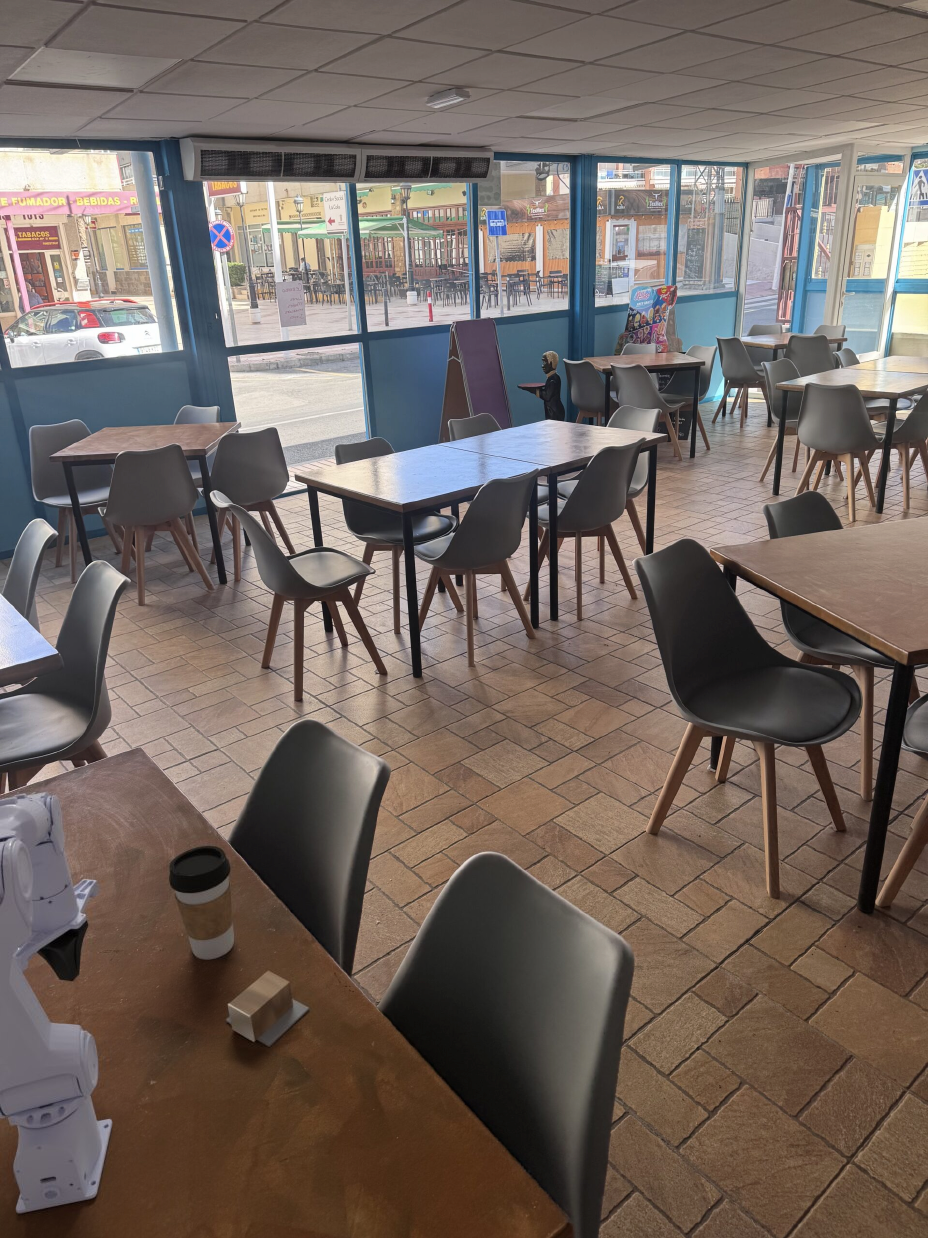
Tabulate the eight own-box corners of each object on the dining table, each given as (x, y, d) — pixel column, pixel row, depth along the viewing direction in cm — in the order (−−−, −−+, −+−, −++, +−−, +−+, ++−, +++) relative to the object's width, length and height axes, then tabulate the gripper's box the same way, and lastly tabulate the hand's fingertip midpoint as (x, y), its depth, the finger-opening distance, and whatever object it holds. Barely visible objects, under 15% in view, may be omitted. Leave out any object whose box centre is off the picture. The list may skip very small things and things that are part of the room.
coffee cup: (171, 956, 127) (152, 868, 122) (212, 920, 134) (196, 836, 128) (214, 973, 123) (197, 883, 118) (254, 935, 130) (240, 849, 125)
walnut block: (249, 1017, 109) (289, 982, 114) (227, 1004, 111) (268, 970, 116) (253, 1042, 110) (293, 1006, 116) (232, 1029, 112) (272, 994, 118)
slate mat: (269, 1047, 110) (268, 1045, 110) (226, 1021, 114) (225, 1019, 114) (309, 1009, 115) (309, 1007, 115) (266, 986, 120) (266, 985, 120)
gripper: (33, 929, 97) (59, 1025, 102) (111, 853, 111) (130, 941, 115) (-20, 923, 99) (7, 1017, 104) (62, 848, 112) (84, 935, 117)
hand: (69, 976), depth 110 cm, fingers closed
